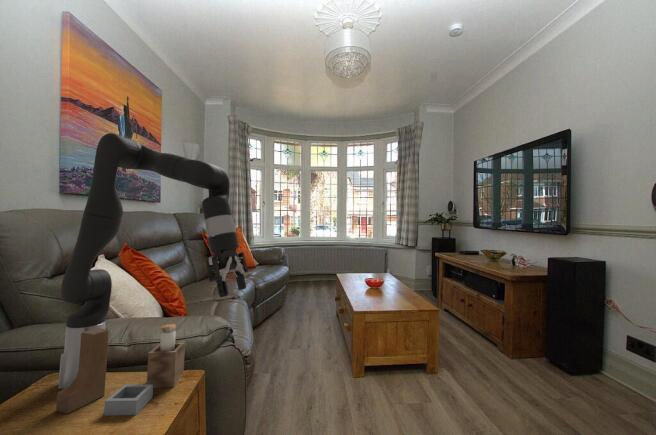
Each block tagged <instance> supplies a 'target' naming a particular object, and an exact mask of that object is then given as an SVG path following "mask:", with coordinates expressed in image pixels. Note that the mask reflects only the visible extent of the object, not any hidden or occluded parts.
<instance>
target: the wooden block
mask: <svg viewBox="0 0 656 435" xmlns="http://www.w3.org/2000/svg"><path fill="white" fill-rule="evenodd" d="M108 344H109V329H106V328H105V329H101V328H96V329H92V330H89V331H85V332H82V333H81V343H80V357H79V370H78V373H77V376H76V378H75V380H74V381H73V382H72V383H71V385H70V386H68V387H67V388H65V389H60V391H58V392H57V395H56V404H55V405H56V407H55V409H56V411H58V412H60V413H63V414H67V415H68V414H70V413H72V412H74V411H76V410H78V409H80V408H82V407H84V406H86V405H88V404H90V403H92V402H94V401H96V400H98V399H101V398H102V397H104V396H105V393H106V379H107V366H108V365H107V364H108V362H107V360H108V359H107V358H108V348H109V346H108Z"/></svg>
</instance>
